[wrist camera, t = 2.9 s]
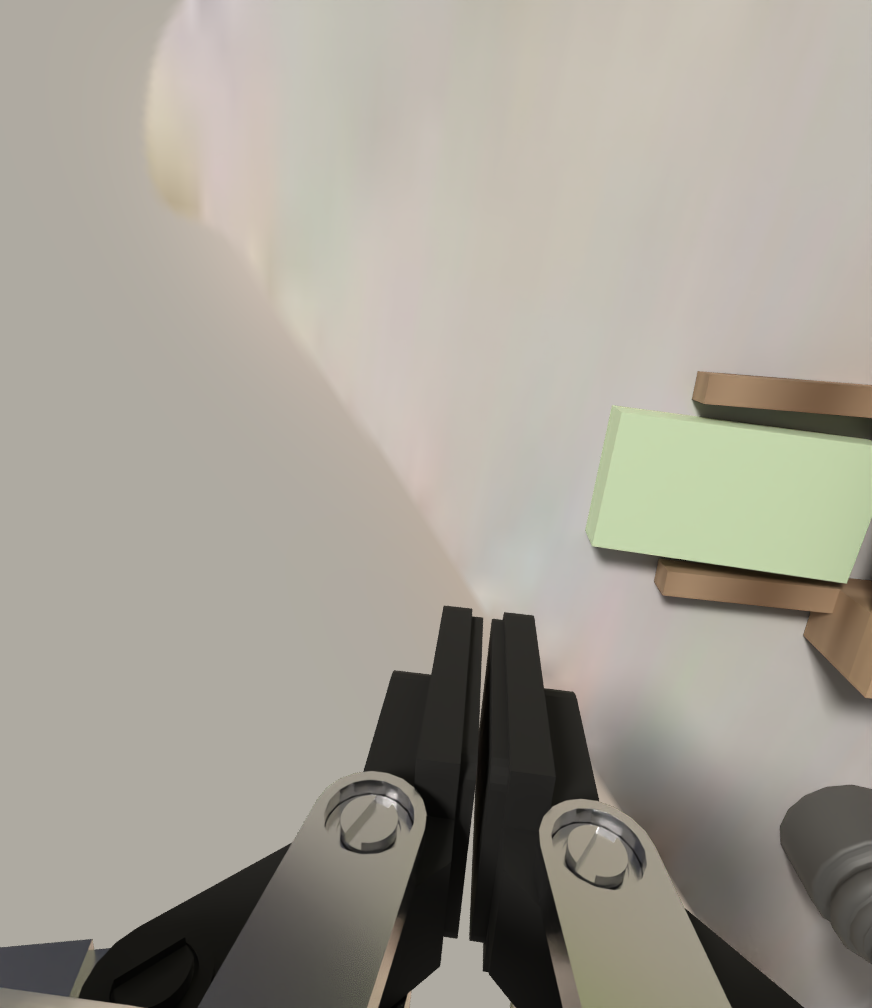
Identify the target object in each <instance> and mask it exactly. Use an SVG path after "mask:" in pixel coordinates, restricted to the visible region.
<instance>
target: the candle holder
mask: <svg viewBox="0 0 872 1008" xmlns="http://www.w3.org/2000/svg"><path fill="white" fill-rule="evenodd" d="M780 837H781V845H782V847H783V849H784V851H785V852H786V854H787V856H788V858H789V860H790V861H791V863H792V865H793V867H794V869H795V871H796V872H797V874H798V876H799V878H800V880H801V882H802V883H803V885H804V887H805V889H806V891H807V892H808V894H809V896H810V898H811V900H812V901H813V903H814V904H815V906H816V907H817V909H818V910H819V912H820V914H821V915H822V917H824V918H825V919H827V920H828V921H830V922H831V925H832V927H833V929H834V930H835V932H836V933H837V935H838V937H839V938H840V940H841V941H842V943H843V944H844V946H845V947H846V948H848V949H849V950H851V951H852V952H854V953H856V954H857V955H859V956H860V957H862V958H863V959H865V960H866V961H868V962H870V963H871V964H872V789H868V788H864V787H859V786H855V785H845V786H833V787H826V788H823V789H821V790H818V791H816V792H813V793H811V794H808V795H806V796H804V797H803V798H802V799H800V800H799V801H798V802H797V803H796V804H795V805H793V806H792V807H791V808H790V809H789V810H788V811H787V813H786V816H785V818H784V820H783V822H782V824H781V826H780Z"/></svg>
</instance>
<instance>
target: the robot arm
mask: <svg viewBox="0 0 872 1008" xmlns="http://www.w3.org/2000/svg"><path fill="white" fill-rule="evenodd" d="M482 632H483V618H481V617H472V609H469V608H461V607H451V606H444V607H443V613H442V618H441V624H440V630H439V635H438V641H437V647H436V652H435V657H434V663H433V668H432V674H431V675H429V674H421V673H411V672H403V671H395V670H394V671H393V673H392V676H391V679H390V683H389V686H388V690H387V693H386V697H385V700H384V703H383V707H382V710H381V713H380V717H379V720H378V724H377V727H376V730H375V734H374V737H373V741H372V744H371V748H370V751H369V754H368V758H367V761H366V765H365V768H364V771H363V772H359V773H354V774H351V775H348V776H346V777H343V778H340V779H338V780H337V781H336V782H334V783H333V784H331V785H330V786H328V787H327V788H326V789H325V790H324V792H323V793H322V794H321V795H320V796H319V798H318V799H317V800H316V802H315V804H314V806H313V807H312V809H311V811H310V813H309V815H308V816H307V818H306V820H305V821H304V823H303V825H302V826H301V828H300V830H299V832H298V833H297V835H296V837H295V839H294V841H293V842H292V843H290V844H289V845H287V846H285V847H283V848H281V849H280V850H278V851H276V852H274V853H272V854H270V855H269V856H267V857H265V858H263V859H261V860H260V861H258V862H256V863H254V864H252V865H250V866H249V867H247V868H245V869H243V870H241V871H240V872H238V873H236V874H234V875H232V876H230V877H229V878H227V879H225V880H223V881H221V882H220V883H218V884H216V885H214V886H212V887H211V888H209V889H207V890H205V891H203V892H201V893H200V894H198V895H196V896H194V897H192V898H191V899H189V900H187V901H185V902H184V903H181V904H180V905H178V906H176V907H174V908H172V909H171V910H169V911H167V912H165V913H163V914H161V915H160V916H158V917H156V918H154V919H152V920H150V921H149V922H147V923H145V924H143V925H141V926H140V927H138V928H136V929H135V930H133V931H132V932H131V933H129V934H128V935H126V936H125V937H124V938H122V939H120V940H119V941H118V942H116V943H115V944H114V945H113V946H112V947H111V948H106V949H95V950H94V946H93V939H86V940H76V941H66V942H65V941H64V942H54V943H43V944H32V945H21V946H10V947H0V1008H410V999H411V991H412V989H414V988H415V987H416V986H417V985H418V984H420V983H421V982H422V981H423V980H424V979H426V978H427V977H428V976H429V975H430V974H432V973H433V972H434V971H435V970H436V969H437V968H439V967H440V963H441V962H440V961H441V953H442V944H443V937H449V938H458V930H459V921H460V913H461V903H462V895H463V886H464V878H465V870H466V861H467V851H468V844H469V835H470V827H471V818H472V810H473V801H474V793H475V811H474V833H473V834H474V835H473V836H474V837H473V859H472V883H471V884H472V885H471V907H470V933H469V935H470V937H469V939H470V941H476V942H482V943H483V971H485V972H489V975H490V976H491V977H492V979H493V980H494V981H495V982H496V984H497V985H498V986H499V987H500V989H502V991H503V992H504V994H505V995H506V996H507V997H508V999H509V1000H510V1001H511V1003H510V1008H804V1007H803V1006H801V1005H800V1004H799V1003H798V1002H797V1001H795V1000H794V999H793V998H792V997H791V996H789V995H788V994H787V993H786V992H785V991H783V990H782V989H781V988H780V987H779V986H777V985H776V984H775V983H774V982H773V981H771V980H770V979H769V978H768V977H767V976H765V975H764V974H763V973H762V972H761V971H759V970H758V969H757V968H756V967H755V966H753V965H752V964H751V963H750V962H749V961H748V960H746V959H745V958H744V957H743V956H742V955H740V954H739V953H738V952H737V951H736V950H734V949H733V948H732V947H731V946H730V945H728V944H727V943H726V942H725V941H724V940H722V939H721V938H720V937H719V936H718V935H716V934H715V933H714V932H713V931H712V930H710V929H709V928H708V927H707V926H706V925H704V924H703V923H702V922H701V921H700V920H698V919H697V918H696V917H695V916H694V915H692V914H691V913H690V912H689V911H688V910H686V909H685V908H684V906H683V904H682V902H681V900H680V898H679V896H678V893H677V891H676V889H675V887H674V885H673V883H672V881H671V879H670V877H669V874H668V872H667V870H666V868H665V866H664V864H663V862H662V860H661V858H660V855H659V853H658V851H657V849H656V847H655V845H654V844H653V842H652V841H651V839H650V838H649V836H648V834H647V833H646V831H645V830H644V829H643V828H642V827H641V826H640V825H638V824H637V823H636V822H635V821H634V820H633V819H632V818H631V817H629V816H628V815H626V814H625V813H623V812H621V811H620V810H618V809H617V808H615V807H612V806H610V805H607V804H604V803H602V802H599V798H598V793H597V789H596V784H595V779H594V775H593V770H592V766H591V761H590V757H589V752H588V748H587V743H586V739H585V734H584V729H583V725H582V720H581V716H580V711H579V707H578V702H577V698H576V695H575V693H574V692H570V691H562V690H554V689H545V688H544V686H543V678H542V671H541V663H540V656H539V649H538V641H537V634H536V627H535V619H534V616H533V615H524V614H515V613H506V612H504V615H503V620H499V619H492V623H491V631H490V640H489V648H488V657H487V666H486V676H485V684H484V692H483V701H482V709H481V718H480V727H479V714H480V687H481V661H482V634H483V633H482Z"/></svg>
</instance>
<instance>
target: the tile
mask: <svg viewBox="0 0 872 1008" xmlns="http://www.w3.org/2000/svg"><path fill="white" fill-rule="evenodd" d="M871 518H872V441H871V440H868V439H863V438H855V437H848V436H840V435H832V434H825V433H817V432H810V431H802V430H795V429H787V428H780V427H772V426H765V425H757V424H750V423H742V422H734V421H727V420H719V419H712V418H704V417H697V416H689V415H682V414H674V413H667V412H659V411H652V410H644V409H637V408H629V407H621V406H614V405H612V408H611V413H610V417H609V422H608V427H607V431H606V436H605V440H604V445H603V450H602V454H601V459H600V464H599V468H598V473H597V478H596V482H595V487H594V492H593V496H592V501H591V506H590V510H589V515H588V520H587V524H586V529H585V531H586V533H587V535H588V538H589V540H590V542H591V545H592V546H595V547H602V548H608V549H615V550H622V551H629V552H636V553H642V554H649V555H656V556H663V557H670V558H676V559H683V560H690V561H697V562H704V563H710V564H717V565H724V566H731V567H738V568H744V569H751V570H758V571H765V572H771V573H778V574H785V575H792V576H799V577H805V578H812V579H819V580H826V581H833V582H839V583H846V584H847V581H848V579H849V576H850V573H851V571H852V568H853V566H854V563H855V560H856V558H857V555H858V552H859V550H860V547H861V545H862V542H863V539H864V537H865V534H866V531H867V529H868V526H869V524H870V521H871Z"/></svg>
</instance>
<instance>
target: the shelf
mask: <svg viewBox="0 0 872 1008" xmlns="http://www.w3.org/2000/svg"><path fill="white" fill-rule="evenodd" d="M692 399H693V400H695V401H698V402H700V403H703V404H712V405H724V406H736V407H748V408H760V409H772V410H784V411H796V412H808V413H820V414H832V415H844V416H855V417H867V418H872V385H862V384H850V383H837V382H825V381H812V380H800V379H787V378H775V377H762V376H750V375H737V374H725V373H712V372H700V371H698V373H697V378H696V382H695V387H694V392H693V397H692ZM654 582H655V584H656V585H657V587H658V589H659V590H660V592H661V593H662V595H664V596H674V597H683V598H692V599H702V600H711V601H720V602H730V603H739V604H748V605H757V606H767V607H776V608H785V609H795V610H804V611H811V612H810V615H809V618H808V622H807V625H806V628H805V631H804V636H805V638H806V639H807V640H808V641H809V642H810V643H811V644H812V645H813V646H814V647H815V648H816V649H817V650H818V651H819V652H820V653H821V654H822V655H823V656H824V657H825V658H826V659H827V660H828V661H829V662H830V663H831V664H832V665H833V666H834V667H835V668H836V669H837V670H838V671H839V672H840V673H841V674H842V675H843V676H844V677H845V678H846V679H847V680H848V681H849V682H850V683H851V684H852V685H853V686H854V687H855V688H856V689H857V690H858V691H859V692H860V693H861V694H862V695H863V696H864V697H865V698H872V581H870V580H861V579H851V578H849V579H848V581H847V584H846V583H839V582H833V581H826V580H819V579H812V578H805V577H799V576H792V575H785V574H778V573H771V572H765V571H758V570H751V569H744V568H738V567H731V566H724V565H715V564H706V563H696V562H686V561H677V560H667V559H659V560H658V565H657V570H656V575H655V579H654Z"/></svg>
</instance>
